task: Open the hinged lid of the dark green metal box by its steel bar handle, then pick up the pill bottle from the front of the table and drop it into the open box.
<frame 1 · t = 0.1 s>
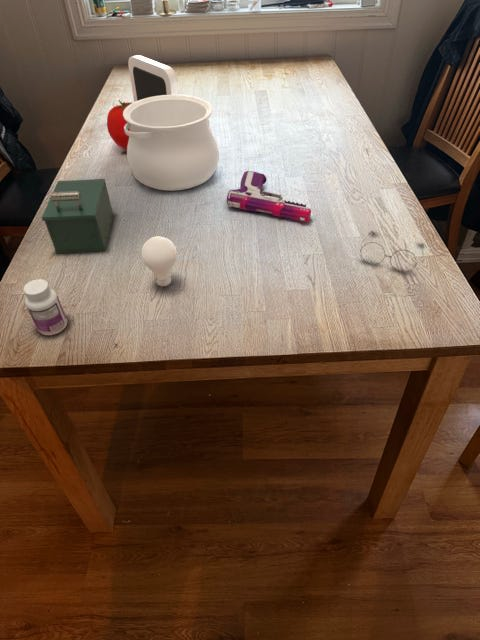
toy gun: (283, 181, 116), point 2 cm above the table
eyeglasses: (390, 254, 97), on the table
tomato: (133, 148, 136), on the table
pot: (175, 173, 124), on the table
light bulb: (164, 285, 91), on the table
computer: (151, 104, 132), point 11 cm above the table
chest: (86, 233, 104), on the table
pill bottle: (53, 326, 83), on the table
lid: (72, 190, 96), point 11 cm above the table, hinge at 0.0°
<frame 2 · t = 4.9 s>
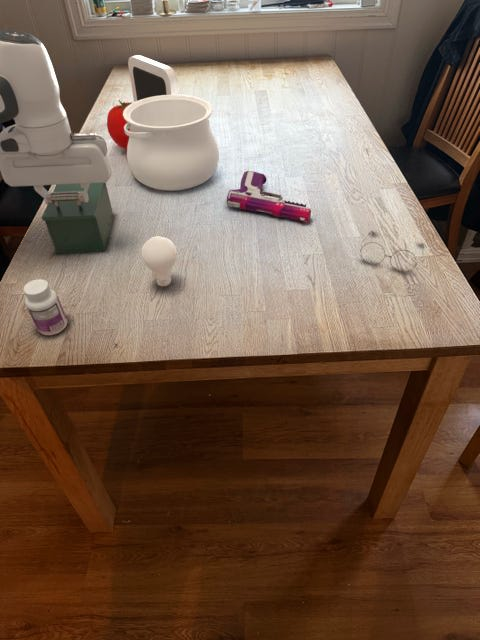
hand: (67, 202, 92), 11 cm above the table, tool pointing down, fingers closed on lid, 5 cm apart
lid: (72, 190, 96), point 11 cm above the table, hinge at -0.1°, touching gripper
everything else where it was.
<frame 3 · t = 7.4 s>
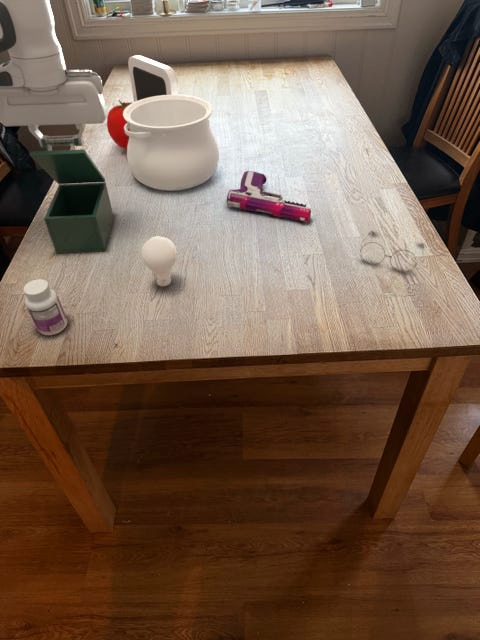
hand: (62, 145, 91), 20 cm above the table, tool pointing down, fingers closed on lid, 5 cm apart
lid: (70, 158, 95), point 16 cm above the table, hinge at 48.2°, touching gripper
everything else where it was.
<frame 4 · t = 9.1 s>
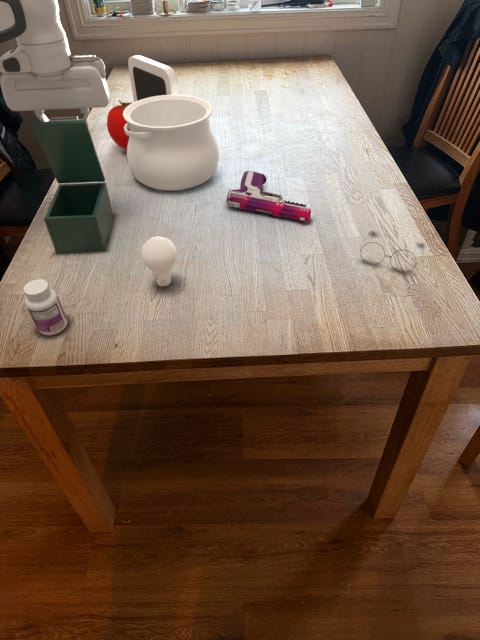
hand: (67, 129, 95), 21 cm above the table, tool pointing down, fingers closed on lid, 5 cm apart
lid: (72, 147, 97), point 17 cm above the table, hinge at 74.8°, touching gripper
everything else where it was.
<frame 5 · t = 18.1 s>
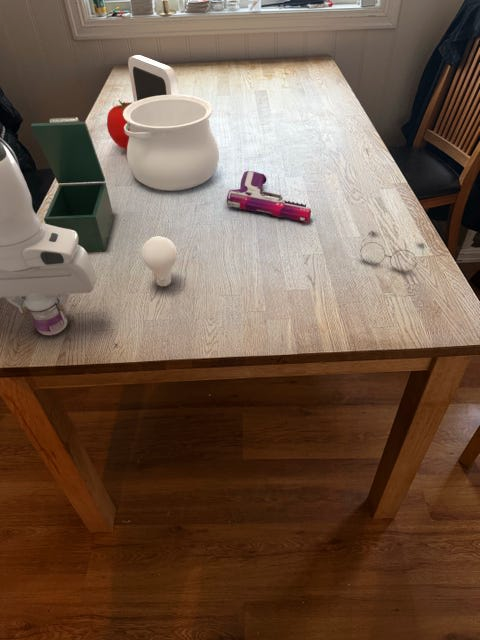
hand: (46, 309, 80), 4 cm above the table, tool pointing down, fingers closed on pill bottle, 5 cm apart
pill bottle: (53, 326, 83), on the table, touching gripper
lid: (71, 148, 97), point 17 cm above the table, hinge at 73.0°
everything else where it was.
when the fingers open (13 cm above the table, at t = 25.8 s): pill bottle drops 8 cm, resting on chest.
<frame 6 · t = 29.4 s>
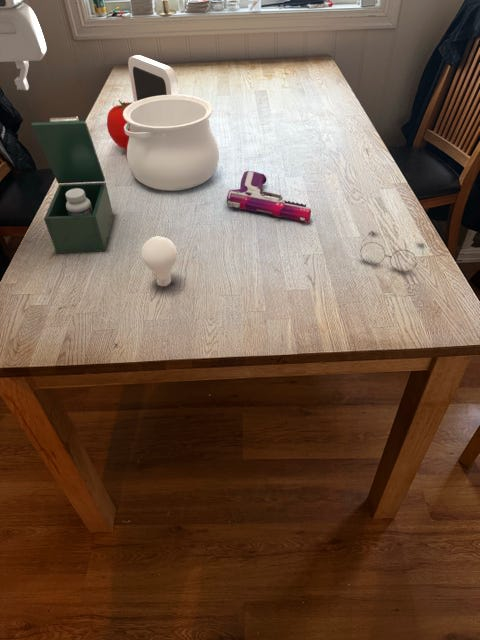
pill bottle: (86, 231, 104), point 1 cm above the table, touching chest
lid: (72, 147, 97), point 17 cm above the table, hinge at 73.9°
everything else where it was.
at the end: lid at +74° (first picture: +0°); pill bottle inside the target area in the chest (0.1 cm from its centre), point 0.6 cm above the chest's base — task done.
